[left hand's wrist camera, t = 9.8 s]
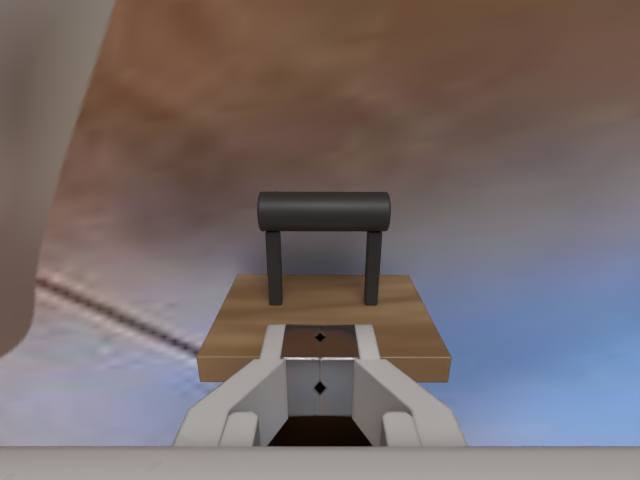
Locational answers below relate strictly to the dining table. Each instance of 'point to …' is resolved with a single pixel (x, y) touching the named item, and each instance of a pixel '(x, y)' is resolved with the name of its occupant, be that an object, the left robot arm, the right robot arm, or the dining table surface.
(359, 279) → the drawer
